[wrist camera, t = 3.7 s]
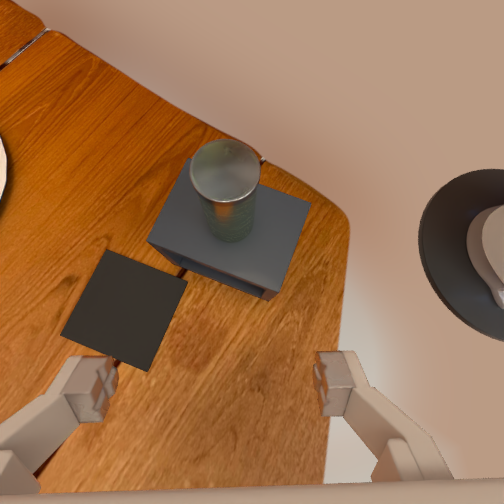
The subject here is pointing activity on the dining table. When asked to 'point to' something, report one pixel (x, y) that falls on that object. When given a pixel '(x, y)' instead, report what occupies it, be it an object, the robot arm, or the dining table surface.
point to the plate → (2, 168)
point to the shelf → (231, 254)
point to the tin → (226, 187)
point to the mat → (125, 310)
